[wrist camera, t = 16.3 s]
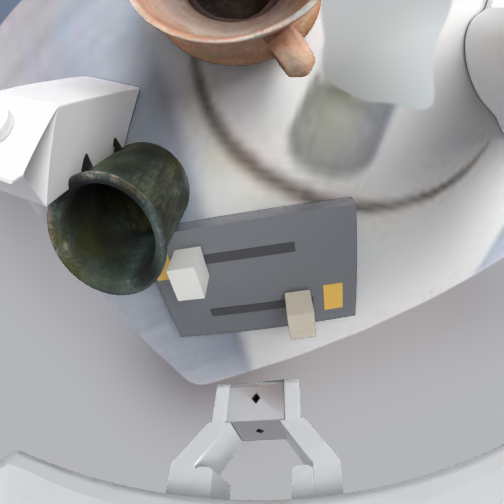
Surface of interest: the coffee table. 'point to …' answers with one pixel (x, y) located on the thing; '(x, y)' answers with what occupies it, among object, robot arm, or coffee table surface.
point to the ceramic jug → (238, 30)
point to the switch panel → (268, 266)
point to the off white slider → (188, 274)
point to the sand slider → (300, 314)
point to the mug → (120, 217)
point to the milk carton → (59, 132)
